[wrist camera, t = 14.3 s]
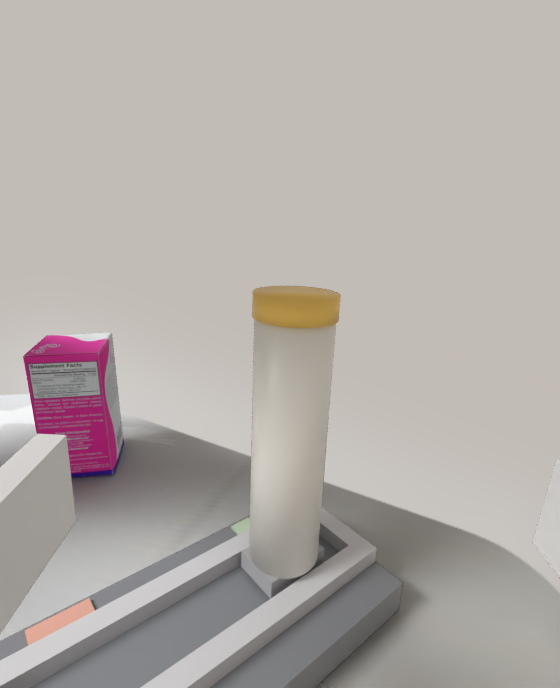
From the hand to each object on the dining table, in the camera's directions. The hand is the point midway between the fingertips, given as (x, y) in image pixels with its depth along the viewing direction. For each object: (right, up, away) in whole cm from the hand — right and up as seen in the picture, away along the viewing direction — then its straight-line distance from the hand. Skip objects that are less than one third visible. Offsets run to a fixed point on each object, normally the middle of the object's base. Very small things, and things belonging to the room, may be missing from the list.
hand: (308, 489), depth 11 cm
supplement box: (-19, -7, +27) cm, 34 cm away
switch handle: (-1, -9, +13) cm, 16 cm away
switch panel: (-5, -12, +11) cm, 17 cm away
